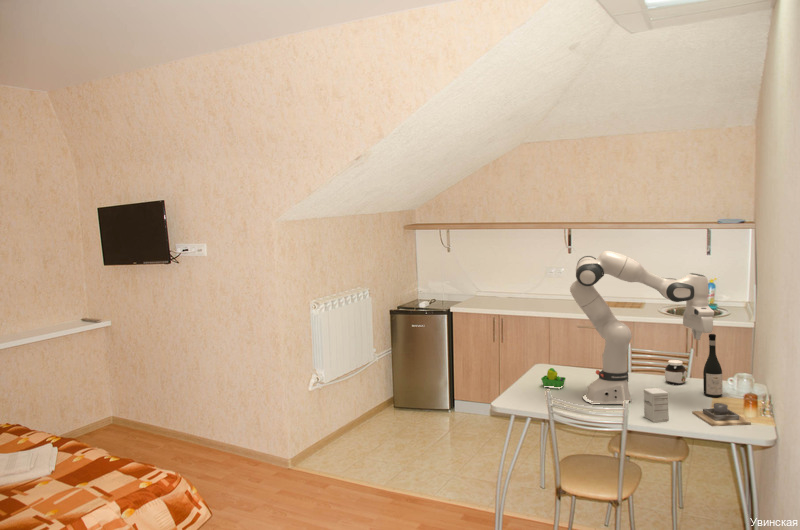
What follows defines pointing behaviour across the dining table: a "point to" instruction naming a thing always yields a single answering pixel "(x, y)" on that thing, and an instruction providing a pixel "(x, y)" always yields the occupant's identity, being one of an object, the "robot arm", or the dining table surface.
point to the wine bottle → (712, 371)
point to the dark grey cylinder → (720, 409)
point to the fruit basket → (553, 379)
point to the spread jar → (675, 372)
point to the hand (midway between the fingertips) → (696, 339)
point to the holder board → (720, 418)
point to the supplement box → (656, 405)
